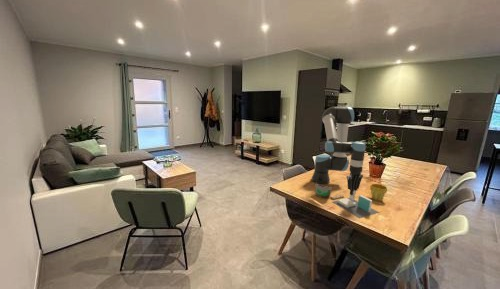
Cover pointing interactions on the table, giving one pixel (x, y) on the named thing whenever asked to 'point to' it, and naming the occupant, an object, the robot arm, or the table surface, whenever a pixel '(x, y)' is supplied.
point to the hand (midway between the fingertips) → (351, 198)
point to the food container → (323, 191)
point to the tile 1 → (346, 203)
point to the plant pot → (378, 191)
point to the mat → (356, 209)
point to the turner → (337, 197)
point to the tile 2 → (364, 203)
